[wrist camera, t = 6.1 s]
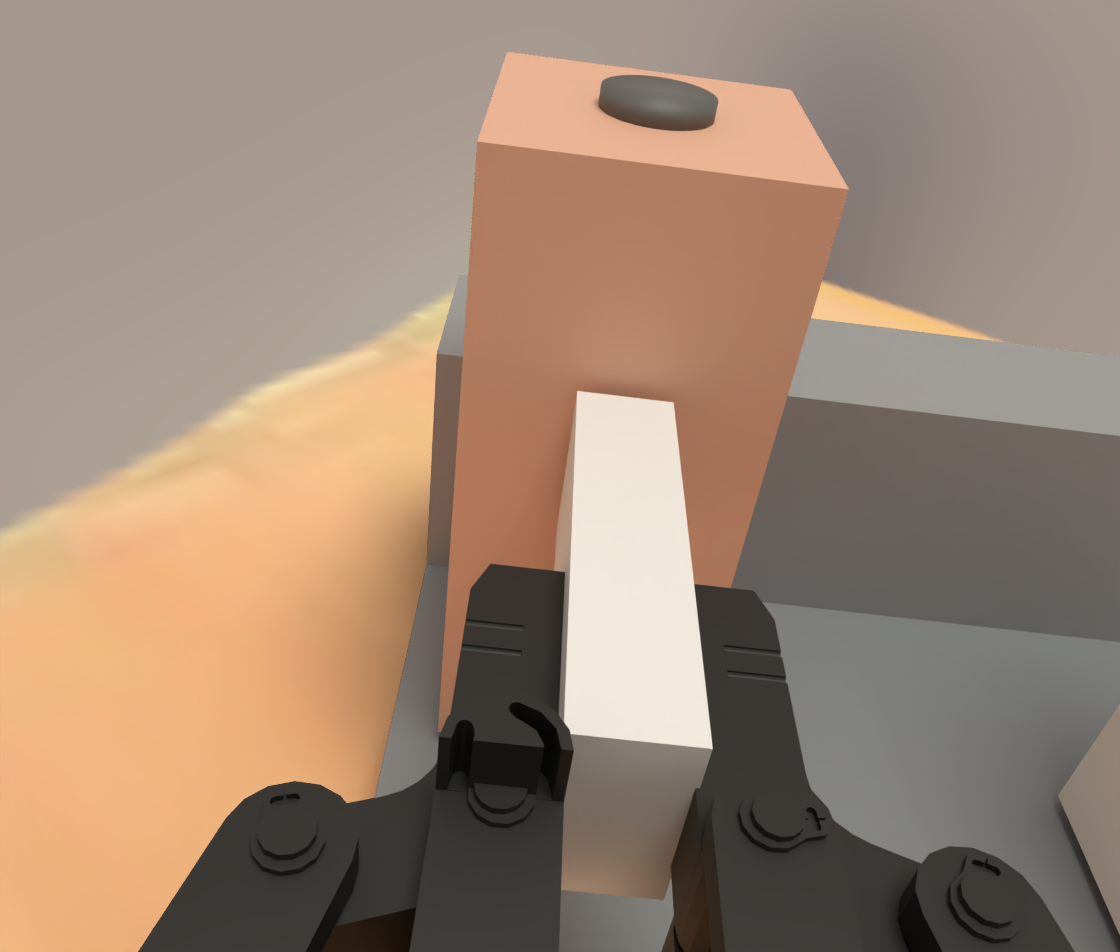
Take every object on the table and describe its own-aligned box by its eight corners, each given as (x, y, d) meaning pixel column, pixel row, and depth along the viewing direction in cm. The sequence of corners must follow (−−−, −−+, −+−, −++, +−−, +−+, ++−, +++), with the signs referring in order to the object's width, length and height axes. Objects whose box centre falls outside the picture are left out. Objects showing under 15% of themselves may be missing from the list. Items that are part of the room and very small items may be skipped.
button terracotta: (680, 757, 20) (854, 167, 13) (437, 732, 20) (478, 118, 13) (667, 591, 24) (795, 71, 17) (465, 569, 24) (509, 34, 17)
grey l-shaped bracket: (1452, 1180, 18) (1848, 946, 13) (327, 1078, 17) (313, 788, 12) (1104, 600, 30) (1243, 371, 25) (443, 526, 29) (459, 274, 24)
